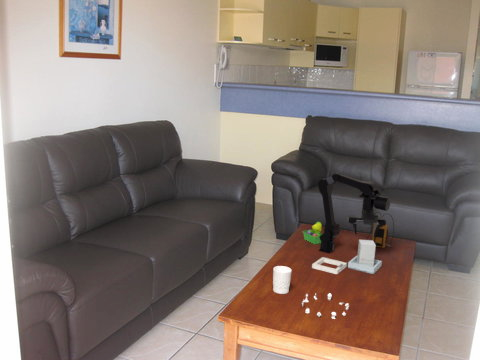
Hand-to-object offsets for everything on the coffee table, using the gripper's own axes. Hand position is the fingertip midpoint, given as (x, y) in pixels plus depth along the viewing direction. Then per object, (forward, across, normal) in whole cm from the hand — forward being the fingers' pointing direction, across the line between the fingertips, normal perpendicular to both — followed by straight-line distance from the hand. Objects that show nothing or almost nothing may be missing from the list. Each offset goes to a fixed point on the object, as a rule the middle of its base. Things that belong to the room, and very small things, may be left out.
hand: (364, 236), depth 271 cm
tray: (+13, 0, -10) cm, 16 cm away
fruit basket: (+13, -24, +25) cm, 37 cm away
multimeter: (+13, +14, +29) cm, 35 cm away
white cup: (+13, -41, -49) cm, 65 cm away
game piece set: (+14, -23, -62) cm, 68 cm away
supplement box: (+13, 0, -10) cm, 16 cm away
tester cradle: (+13, -18, -15) cm, 27 cm away
